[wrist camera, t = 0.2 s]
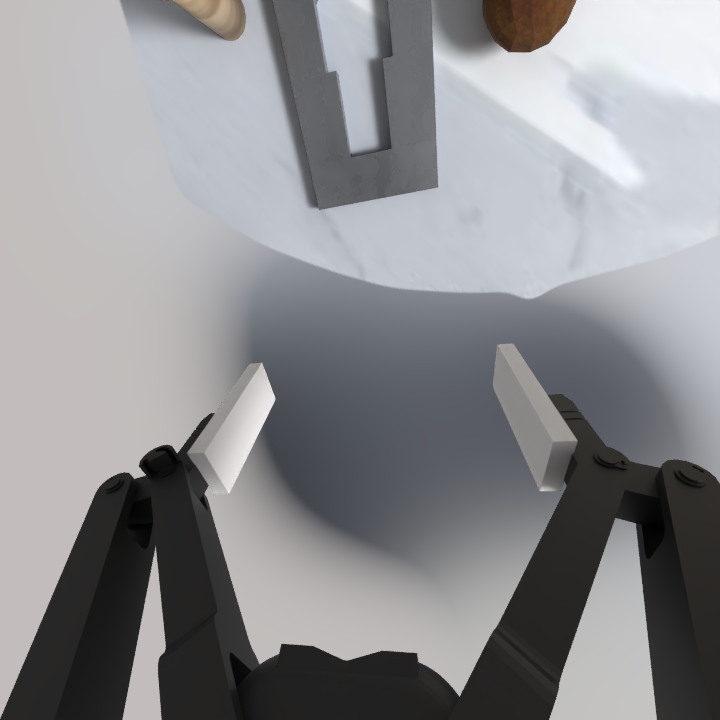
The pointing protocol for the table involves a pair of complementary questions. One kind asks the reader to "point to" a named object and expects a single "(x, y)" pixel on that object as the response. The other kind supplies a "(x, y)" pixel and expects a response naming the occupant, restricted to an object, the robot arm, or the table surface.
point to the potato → (525, 22)
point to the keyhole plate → (326, 113)
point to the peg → (218, 15)
